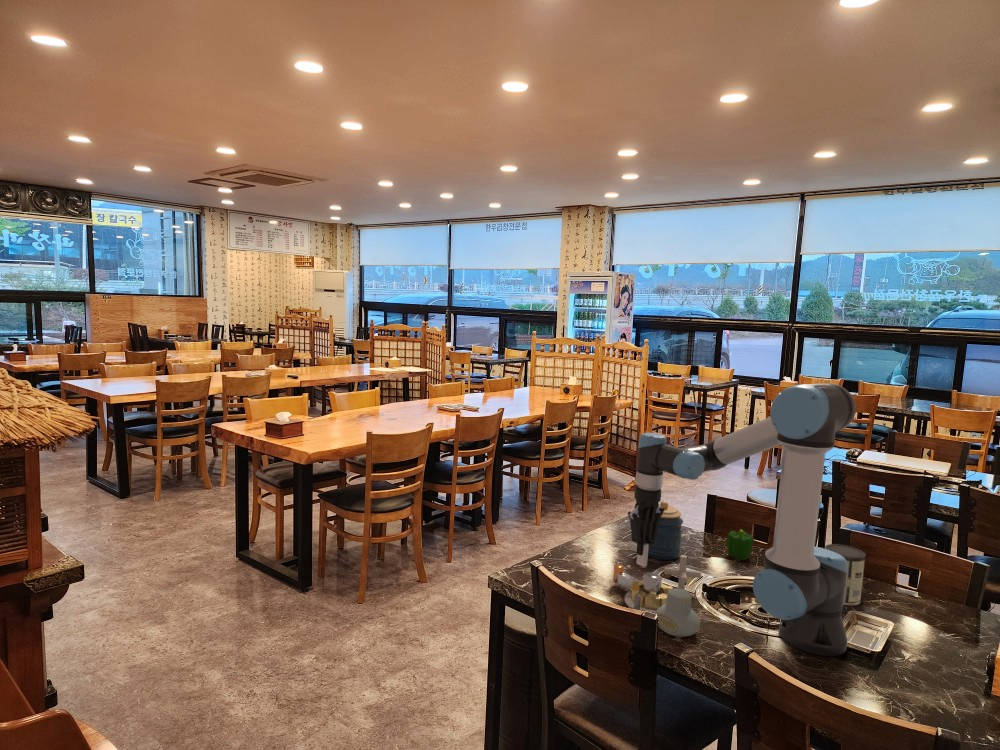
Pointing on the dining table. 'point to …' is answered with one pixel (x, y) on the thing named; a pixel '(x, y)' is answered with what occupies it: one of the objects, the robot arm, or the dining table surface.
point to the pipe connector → (682, 572)
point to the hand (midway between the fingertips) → (641, 564)
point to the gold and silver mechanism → (645, 591)
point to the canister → (667, 535)
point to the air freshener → (678, 614)
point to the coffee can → (851, 571)
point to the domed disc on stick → (640, 589)
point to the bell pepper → (739, 544)
